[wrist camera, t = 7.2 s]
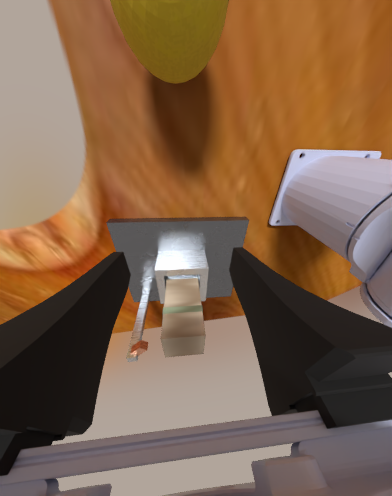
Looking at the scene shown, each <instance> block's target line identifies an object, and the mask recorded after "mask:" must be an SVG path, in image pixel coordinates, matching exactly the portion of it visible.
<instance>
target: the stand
mask: <svg viewBox="0 0 392 496" xmlns="http://www.w3.org/2000/svg"><path fill="white" fill-rule="evenodd" d="M248 222H249V220H248V219H247V218H246V217H206V218H143V219H110V220H109V221H108V222H107V226H108V229H109V232H110V234H111V237H112V240H113V243H114V246H115V249H116V252H124V255H125V258H126V261H127V264H128V268H129V271H130V274H131V277H130V282H129V289H130V292H131V294H132V297H133V300H134V302H140V305H139V309H138V313H137V317H136V321H135V325H134V329H133V333H132V337H131V341H130V346H129V349H128V353H127V357H126V359H127V360H128V362H132V361H137V360H138V355H140V354H142V353H143V352H145V351H147V348H148V342H145V341H142V335H143V330H144V325H145V319H146V314H147V309H148V304H149V301H160V303H161V304H164V301H165V291H166V281H167V280H170V279H190V278H198V283H199V290H200V298H201V301H206V298H209V297H226V296H231V293H232V289H233V283H232V280H231V276H230V272H229V268H230V262H231V257H232V252H233V248H235V247H243V243H244V239H245V235H246V230H247V226H248Z"/></svg>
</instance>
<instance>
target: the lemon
mask: <svg viewBox="0 0 392 496" xmlns="http://www.w3.org/2000/svg"><path fill="white" fill-rule="evenodd" d="M110 1H111V4H112V8H113V11H114V14H115V17H116V19H117V21H118V24H119V26H120V28H121V30H122V32H123V35H124V37H125V39H126V41H127V43H128V45H129V46H130V48H131V49H132V51H133V52H134V54H135V55H136V57H137V58H138V60H139V61H140V63H141V64H142V65H143V66H144V67H145V68H146V69H147V70H148V71H149V72H150V73H151V74H153V75H154V76H156V77H157V78H159V79H161V80H163V81H165V82H169V83H174V84H177V83H184V82H187V81H188V80H190V79H192V78H194V77H196V76H197V75H198V74H199V73H200V72H201V71H202V70H203V69H204V68H205V66H206V65H207V63H208V62H209V60H210V58H211V56H212V55H213V53H214V51H215V49H216V47H217V44H218V41H219V38H220V36H221V33H222V30H223V27H224V23H225V18H226V12H227V7H228V2H229V0H110Z"/></svg>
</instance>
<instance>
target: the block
mask: <svg viewBox="0 0 392 496" xmlns="http://www.w3.org/2000/svg"><path fill="white" fill-rule="evenodd" d="M161 342H162V346H163V351H164V355H165V357H174V356H185V355H195V354H203V351H204V344H205V328H204V321H203V309H202V305H201V298H200V290H199V283H198V278H190V279H170V280H167V281H166V291H165V301H164V308H163V321H162V332H161Z"/></svg>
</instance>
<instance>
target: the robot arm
mask: <svg viewBox="0 0 392 496" xmlns="http://www.w3.org/2000/svg"><path fill="white" fill-rule="evenodd" d="M301 153H302V157H301V158H299V156H300V154H301ZM365 156H366V157H365ZM380 156H381V152H379V151H344V150H302V149H297V150H294V151H293V152H292V153H291V155H290V158H289V161H288V164H287V167H286V170H285V173H284V176H283V179H282V183H281V186H280V189H279V192H278V195H277V198H276V201H275V204H274V207H273V210H272V213H271V216H270V220H269V224H270V225H272V226H281V225H298V226H299V227H301V228H302V229H304V230H305V231H306V232H308V233H309V234H311V235H312V236H314V237H315V238H316V239H318V240H319V241H321V242H322V243H324V244H325V245H326V246H328V247H329V248H331V249H332V250H334V251H335V252H337V253H338V254H339V255H341V256H342V257H344V258H345V259H347V260H348V261H349V262H351V264H352V266H351V269H350V271H349V272H350V273H351V274H353V275H354V276H355V277H357V278H358V279H359V280H361V281H362V284H361V286H360V294H361V298H362V300H363V302H364V304H365V305H366V306H367V308H368V309H369V310H370V311H371V312H372V314H373V315H374V316H375V317H377V318H378V319H379V320H380V321H381V322H382V323H383V324H381V323H379V322H376V321H373V320H371V319H368V318H366V317H363V316H360V315H358V314H355V313H353V312H351V311H348V310H346V309H344V308H341V307H339V306H337V305H334V304H332V303H330V302H328V301H326V300H324V299H322V298H320V297H318V296H316V295H314V294H312V293H310V292H308V291H306V290H304V289H302V288H301V287H299V286H297V285H295V284H294V283H292V282H290V281H289V280H287V279H285V278H284V277H282V276H281V275H279V274H278V273H276V272H275V271H273V270H272V269H270V268H269V267H268V266H266V265H265V264H264V263H262V262H261V261H260V260H258V259H257V258H256V257H254V256H253V255H252V254H251V253H249V252H248V251H247V250H245V249H244V248H243V247H235V248H233V252H232V257H231V262H230V268H229V272H230V276H231V280H232V283H233V286H234V288H235V291H236V293H237V296H238V298H239V301H240V303H241V305H242V308H243V310H244V313H245V316H246V318H247V322H248V325H249V328H250V332H251V335H252V338H253V342H254V346H255V350H256V353H257V357H258V361H259V365H260V369H261V373H262V378H263V382H264V387H265V391H266V396H267V400H268V405H269V408H270V411H271V414H272V416H270V417H263V418H255V419H248V420H240V421H232V422H226V423H217V424H209V425H202V426H194V427H187V428H179V429H172V430H164V431H157V432H149V433H142V434H134V435H127V436H120V437H111V438H104V439H96V440H89V441H81V442H74V443H66V444H59V445H51V444H52V442H53V441H58V440H63V439H64V438H65V436H72V435H79V434H83V433H84V432H85V431H86V430H87V429H88V428H89V427H90V425H91V424H92V421H93V415H94V409H95V404H96V399H97V393H98V388H99V384H100V379H101V375H102V370H103V365H104V361H105V357H106V353H107V349H108V345H109V341H110V338H111V334H112V330H113V327H114V324H115V321H116V319H117V316H118V314H119V311H120V308H121V306H122V303H123V300H124V298H125V295H126V292H127V290H128V286H129V282H130V277H131V274H130V271H129V268H128V264H127V261H126V258H125V255H124V252H113V253H112V254H110V255H109V256H107V257H106V258H105V259H103V260H102V261H101V262H100V263H98V264H97V265H96V266H94V267H93V268H92V269H90V270H89V271H88V272H87V273H85V274H84V275H82V276H81V277H80V278H78V279H77V280H75V281H74V282H73V283H71V284H70V285H68V286H67V287H65V288H64V289H62V290H61V291H59V292H58V293H56V294H55V295H53V296H51V297H50V298H48V299H47V300H45V301H43V302H42V303H40V304H38V305H36V306H35V307H33V308H31V309H29V310H27V311H26V312H24V313H22V314H20V315H18V316H16V317H15V318H13V319H11V320H9V321H7V322H5V323H3V324H1V325H0V496H110V492H111V484H103V485H95V486H88V487H83V488H77V489H72V490H67V491H62V492H61V491H59V488H58V486H59V485H58V481H57V479H55V478H61V477H68V476H74V475H82V474H88V473H95V472H102V471H108V470H114V469H122V468H129V467H135V466H142V465H148V464H155V463H162V462H168V461H176V460H182V459H189V458H196V457H202V456H209V455H216V454H222V453H229V452H236V451H243V450H249V449H256V448H263V447H269V446H276V445H283V444H289V443H293V444H292V446H291V455H290V456H285V457H277V458H269V459H264V460H258V461H253V462H252V464H251V466H252V471H253V475H254V480H255V482H252V483H244V484H236V485H229V486H221V487H213V488H207V489H199V490H192V491H186V492H180V493H175V494H169V495H164V496H392V378H391V377H390V375H389V374H388V373H390V372H392V160H386V159H379V158H380ZM276 221H278V222H277V223H276Z"/></svg>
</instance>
